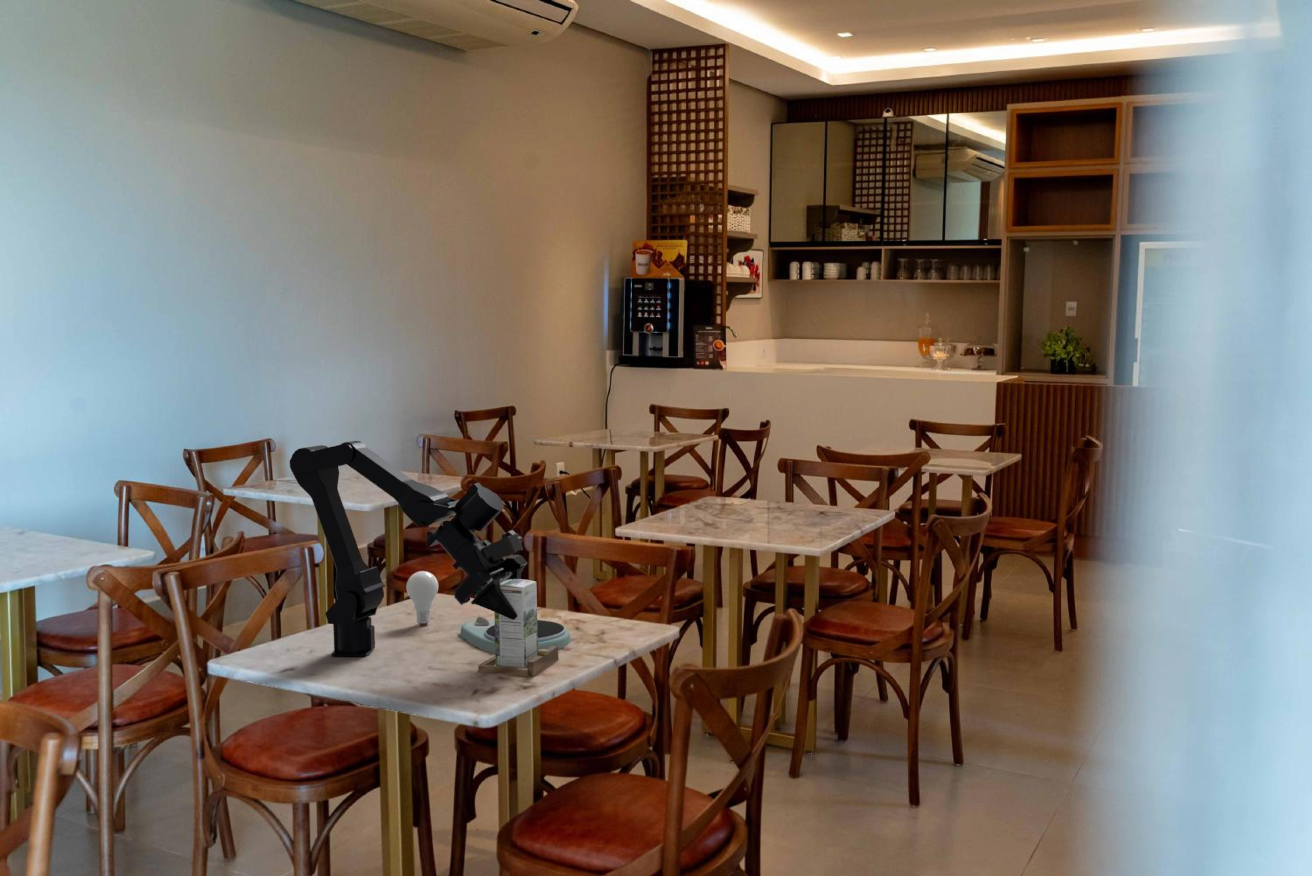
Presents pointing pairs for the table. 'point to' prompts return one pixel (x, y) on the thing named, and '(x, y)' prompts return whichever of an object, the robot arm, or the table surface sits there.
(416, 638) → the table surface
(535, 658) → the square wooden frame
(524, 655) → the syrup box
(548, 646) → the scale
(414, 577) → the lightbulb
